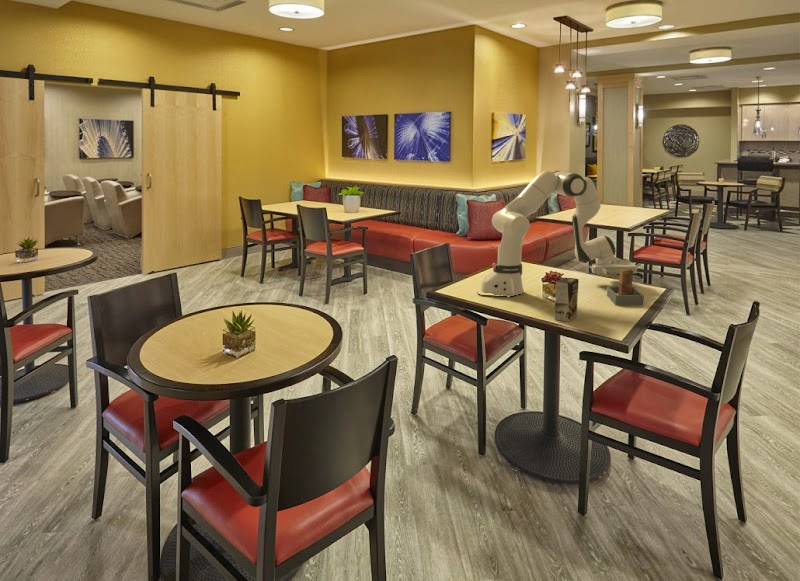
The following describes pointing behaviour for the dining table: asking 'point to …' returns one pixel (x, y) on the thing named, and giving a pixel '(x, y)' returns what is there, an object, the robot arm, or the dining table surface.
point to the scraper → (625, 282)
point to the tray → (625, 297)
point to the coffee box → (566, 299)
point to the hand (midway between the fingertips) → (617, 272)
